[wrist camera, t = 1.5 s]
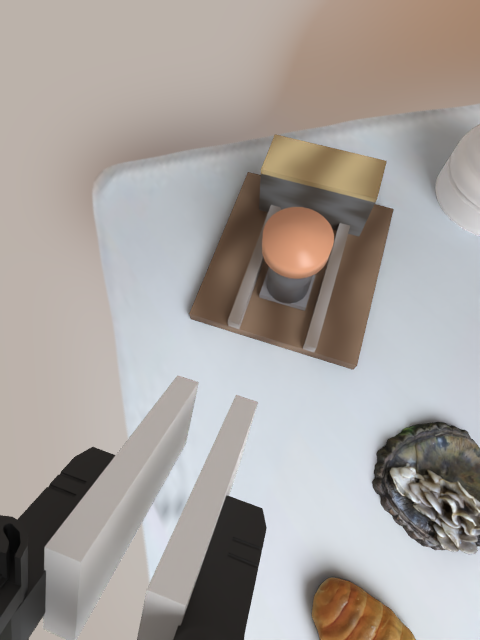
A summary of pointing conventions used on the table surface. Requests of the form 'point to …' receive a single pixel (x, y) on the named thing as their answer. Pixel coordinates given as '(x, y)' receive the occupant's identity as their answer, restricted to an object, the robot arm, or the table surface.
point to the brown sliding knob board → (330, 282)
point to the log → (432, 485)
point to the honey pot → (462, 183)
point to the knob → (294, 254)
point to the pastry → (354, 614)
